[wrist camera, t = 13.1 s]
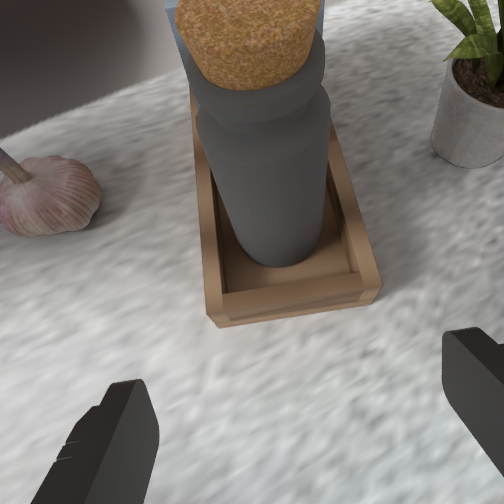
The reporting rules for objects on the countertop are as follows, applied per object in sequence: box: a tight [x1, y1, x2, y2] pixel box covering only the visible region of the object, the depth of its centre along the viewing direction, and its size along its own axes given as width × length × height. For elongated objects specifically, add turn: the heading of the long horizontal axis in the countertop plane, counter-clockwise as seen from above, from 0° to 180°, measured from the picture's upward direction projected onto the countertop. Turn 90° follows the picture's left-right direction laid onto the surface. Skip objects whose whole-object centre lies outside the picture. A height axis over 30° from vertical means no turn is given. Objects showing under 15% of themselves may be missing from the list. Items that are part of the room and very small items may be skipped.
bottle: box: [175, 0, 330, 268], centre depth 18 cm, size 6×6×15 cm
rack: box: [165, 0, 383, 328], centre depth 22 cm, size 22×10×13 cm, turn 7°
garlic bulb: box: [0, 148, 101, 237], centre depth 26 cm, size 8×7×8 cm
